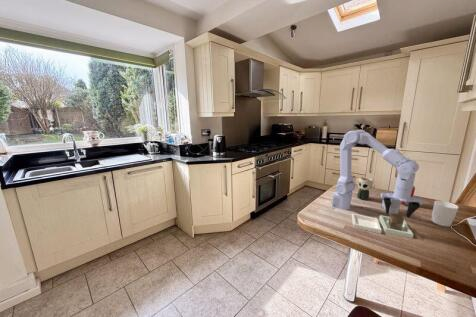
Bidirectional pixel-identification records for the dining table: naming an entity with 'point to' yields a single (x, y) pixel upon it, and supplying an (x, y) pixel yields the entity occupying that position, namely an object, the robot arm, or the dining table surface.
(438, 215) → the white cup
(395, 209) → the medicine box
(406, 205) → the soda can
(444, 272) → the dining table surface
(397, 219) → the walnut block
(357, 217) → the cream dish
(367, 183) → the character mug
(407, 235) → the sage tray
